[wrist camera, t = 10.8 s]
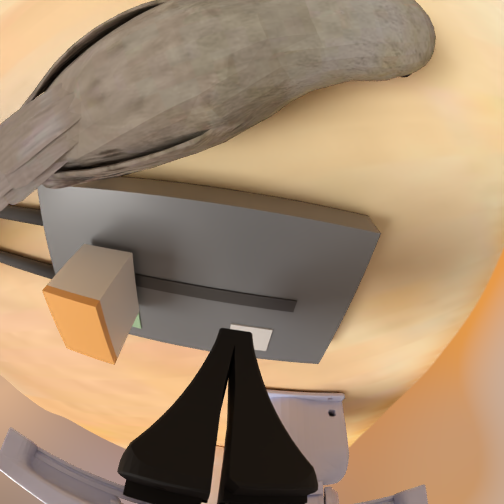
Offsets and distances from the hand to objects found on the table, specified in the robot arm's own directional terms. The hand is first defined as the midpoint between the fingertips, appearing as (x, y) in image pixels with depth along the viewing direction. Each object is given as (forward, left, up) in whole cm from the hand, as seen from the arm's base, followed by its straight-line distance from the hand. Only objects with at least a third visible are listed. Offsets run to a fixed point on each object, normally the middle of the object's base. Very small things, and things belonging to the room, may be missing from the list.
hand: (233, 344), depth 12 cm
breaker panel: (+3, 0, -5) cm, 6 cm away
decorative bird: (+3, -11, -6) cm, 12 cm away
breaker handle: (+7, 0, -3) cm, 8 cm away
